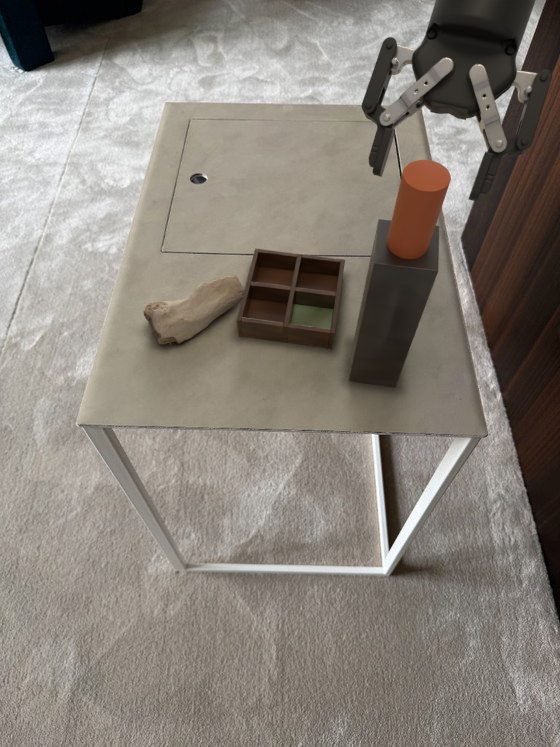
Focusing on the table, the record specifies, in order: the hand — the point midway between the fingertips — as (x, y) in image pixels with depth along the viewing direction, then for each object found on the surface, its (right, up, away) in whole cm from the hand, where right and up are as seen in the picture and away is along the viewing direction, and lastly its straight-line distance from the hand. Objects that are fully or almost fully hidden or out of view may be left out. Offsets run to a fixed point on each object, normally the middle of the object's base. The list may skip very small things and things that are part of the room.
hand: (424, 187), depth 47 cm
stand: (0, -15, +24) cm, 28 cm away
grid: (-11, -7, +29) cm, 32 cm away
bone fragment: (-24, -8, +28) cm, 38 cm away
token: (0, -4, +5) cm, 6 cm away
